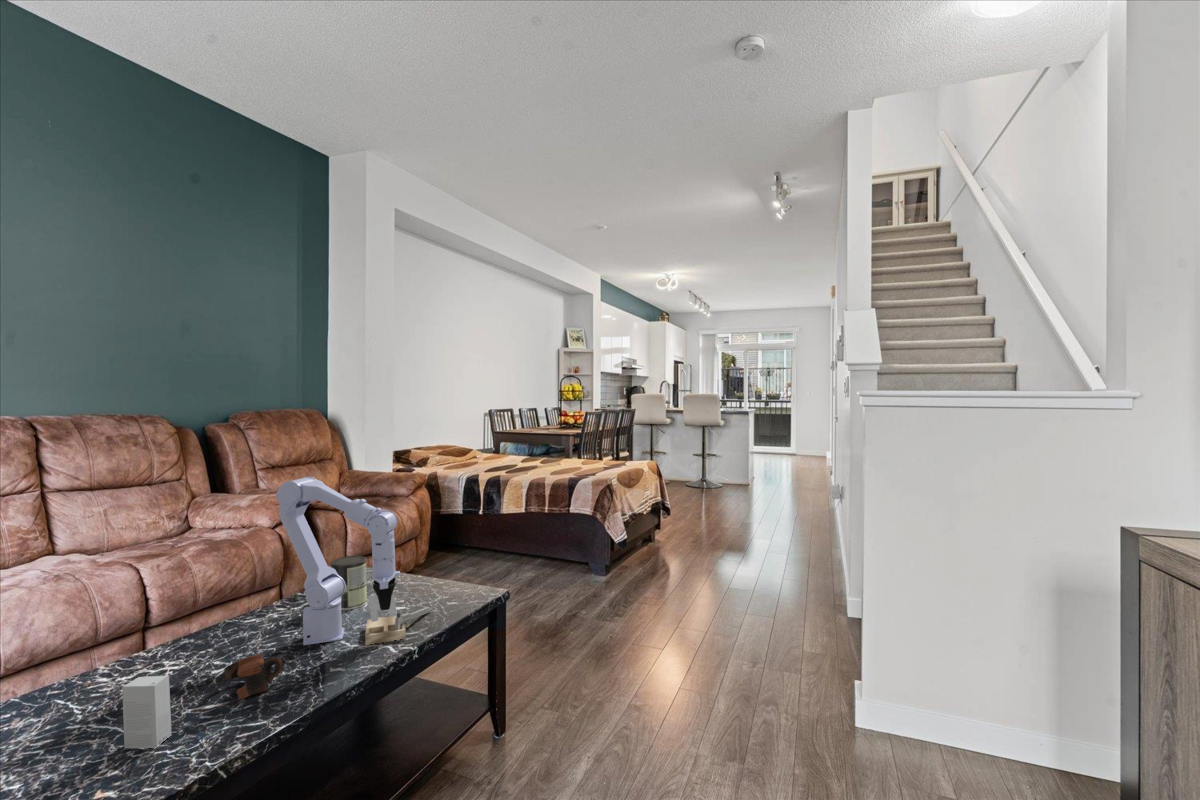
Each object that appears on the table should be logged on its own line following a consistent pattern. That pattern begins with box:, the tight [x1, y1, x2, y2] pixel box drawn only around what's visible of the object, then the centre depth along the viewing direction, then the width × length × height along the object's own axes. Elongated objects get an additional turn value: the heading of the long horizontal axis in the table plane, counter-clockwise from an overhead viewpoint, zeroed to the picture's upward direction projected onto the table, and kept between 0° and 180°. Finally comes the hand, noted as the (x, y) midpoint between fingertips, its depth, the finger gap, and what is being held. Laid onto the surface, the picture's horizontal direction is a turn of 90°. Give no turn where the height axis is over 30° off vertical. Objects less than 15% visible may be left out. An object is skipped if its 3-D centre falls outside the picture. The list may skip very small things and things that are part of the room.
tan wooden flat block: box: [364, 613, 407, 646], centre depth 159 cm, size 10×12×2 cm
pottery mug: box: [222, 653, 284, 700], centre depth 131 cm, size 12×10×8 cm
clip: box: [367, 591, 398, 622], centre depth 156 cm, size 6×2×6 cm, turn 110°
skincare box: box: [121, 675, 172, 749], centre depth 110 cm, size 6×4×12 cm
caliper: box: [395, 606, 433, 630], centre depth 165 cm, size 20×1×6 cm, turn 171°
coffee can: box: [330, 555, 368, 611], centre depth 182 cm, size 10×10×14 cm
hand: (385, 607), depth 156 cm, fingers closed on clip, 2 cm apart
